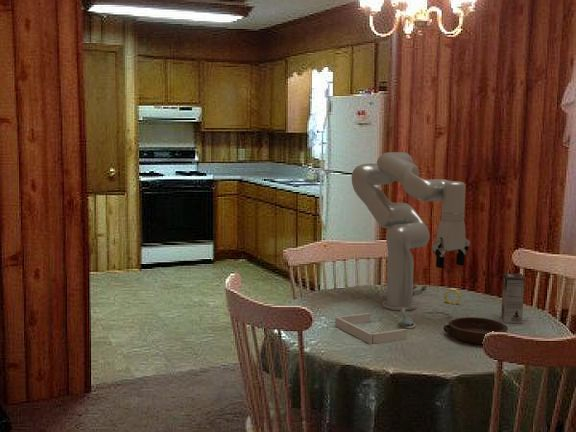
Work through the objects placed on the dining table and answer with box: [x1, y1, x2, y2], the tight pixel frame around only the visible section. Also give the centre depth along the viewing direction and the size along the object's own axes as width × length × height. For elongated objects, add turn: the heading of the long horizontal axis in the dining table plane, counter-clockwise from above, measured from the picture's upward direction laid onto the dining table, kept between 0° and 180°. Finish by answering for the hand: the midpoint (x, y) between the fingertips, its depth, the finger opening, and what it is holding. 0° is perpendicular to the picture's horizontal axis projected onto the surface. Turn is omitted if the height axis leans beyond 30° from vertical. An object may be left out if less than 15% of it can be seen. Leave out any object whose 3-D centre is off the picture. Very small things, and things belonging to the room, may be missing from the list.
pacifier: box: [397, 308, 417, 329], centre depth 222 cm, size 7×6×6 cm
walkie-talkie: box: [413, 284, 427, 296], centre depth 271 cm, size 9×4×20 cm
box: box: [334, 312, 408, 345], centre depth 215 cm, size 22×14×3 cm, turn 26°
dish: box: [443, 316, 509, 345], centre depth 209 cm, size 18×22×5 cm
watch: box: [444, 287, 462, 305], centre depth 253 cm, size 6×3×6 cm, turn 62°
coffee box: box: [500, 272, 525, 325], centre depth 231 cm, size 9×6×16 cm
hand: (450, 266), depth 226 cm, fingers open, 9 cm apart
